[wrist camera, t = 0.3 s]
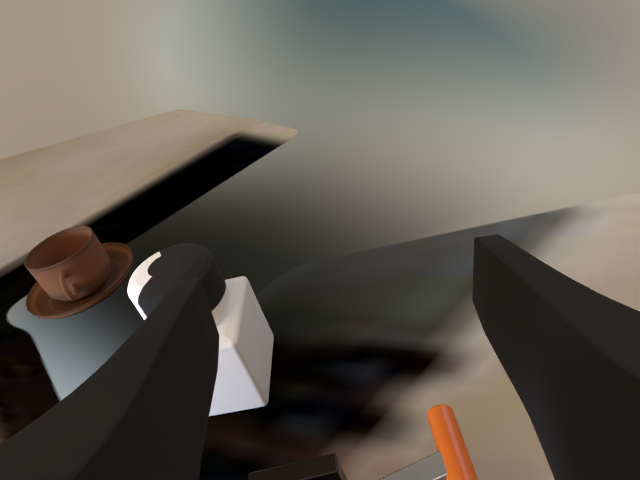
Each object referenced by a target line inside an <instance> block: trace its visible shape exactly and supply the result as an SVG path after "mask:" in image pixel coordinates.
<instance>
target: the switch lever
mask: <svg viewBox="0 0 640 480" xmlns="http://www.w3.org/2000/svg"><path fill="white" fill-rule="evenodd" d="M427 418H428V421H429V424H430V428H431V431H432V434H433V438H434V441H435V444H436V448H437V451H438V452H436V453H434V454H432V455H430V456H428V457H426V458H424V459H421V460H419V461H417V462H415V463H413V464H411V465H409V466H407V467H405V468H403V469H401V470H398V471H396V472H394V473H392V474H390V475H388V476H386V477H384V478H382V479H380V480H478V479H477V476H476V473H475V470H474V468H473V465H472V462H471V459H470V456H469V454H468V451H467V448H466V445H465V442H464V440H463V437H462V434H461V431H460V428H459V426H458V423H457V420H456V417H455V414H454V412H453V409H452V408H451V407H450V406H448V405H437V406H434V407H432V408H431V409H430V410H429V411H428V413H427Z"/></svg>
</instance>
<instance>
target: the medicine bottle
mask: <svg viewBox="0 0 640 480" xmlns="http://www.w3.org/2000/svg"><path fill="white" fill-rule="evenodd" d="M195 278H201V280H202V284H203V287H204V290H205V293H206V296H207V299H208V302H209V305H210V308H211V311H212V314H213V317H214V321H215V324H216V327H217V330H218V333H219V357H218V371H217V376H216V382H215V387H214V393H213V398H212V403H211V408H210V413H209V416H214V415H219V414H225V413H230V412H236V411H241V410H247V409H253V408H258V407H264V406H266V405H267V404H268V398H269V387H270V375H271V363H272V352H273V340H274V336H273V333H272V331H271V329H270V327H269V325H268V323H267V320H266V318H265V316H264V314H263V312H262V310H261V307H260V305H259V303H258V301H257V299H256V297H255V294H254V292H253V290H252V288H251V286H250V283H249V282H248V279H247V278H246V277H244V276H242V277H238V278H232V279H228V280H224V278H223V276H222V274H221V272H220V270H219V268H218V266H217V264H216V262H215V260H214V258H213V256H212V254H211V252H210V251H209V249H207V248H206V247H204V246H201V245H198V244H193V243H185V244H179V245H174V246H171V247H168V248H166V249H163V250H161V251H159V252H157V253H155V254H154V255H152V256H151V257H149V258H148V259H146V260H145V261H144V262H143V263H142V264H140V266H138V267H137V269H136V270H135V271H134V273H133V274H132V276H131V278H130V280H129V284H128V289H127V292H128V296H129V298H130V299H131V301H132V302H133V304H134V305H135V307H136V308H137V310H138V311H139V313H140V314H141V316H142V317H143V319H144V320H145V319H146V318H147V317H148V316H149V315H150V313H151V312H152V311H153V310H154V309H155V307H156V306H157V305H158V304H159V303H160V301H161V300H162V299H163V298H164V297H165V295H166V294H167V293H168V292H169V291H170V289H171V288H172V287H173V286H174V285H175V284H176V283H177V281H182V280H188V279H195Z"/></svg>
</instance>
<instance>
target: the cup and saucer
mask: <svg viewBox="0 0 640 480" xmlns="http://www.w3.org/2000/svg"><path fill="white" fill-rule="evenodd" d="M132 264H133V254H132V251H131V249H130V248H129V247H128V246H127V245H125V244H122V243H103V244H101V243H100V242H99V240H98V239H97V237H96V235H95V234H94V232H93V231H92V229H91V228H90V227H87V226H76V227H71V228H68V229H65V230H62V231H60V232H58V233H56V234H54V235H52V236H50V237H48V238H47V239H45V240H44V241H42V242H41V243H39V244H38V245H37V246H36V247H35V248H33V249H32V250H31V252H30V253H29V254H28V255H27V257H26V259H25V267H26V268H27V269H28V270H29V272H30V273H31V274H32V275H33V277H34V278H35V279H36V280H37V282H36V283H35V284H34V286H33V287H32V288H31V290H30V292H29V294H28V296H27V300H26V307H27V309H28V311H30V313H32V314H33V315H35V316H36V317H39V318H44V319H57V318H63V317H68V316H72V315H75V314H78V313H80V312H83V311H85V310H87V309H89V308H91V307H93V306H95V305H96V304H98V303H100V302H101V301H103V300H104V299H106V298H107V297H108V296H109V295H111V294H112V293H113V292H114V291H115V290H116V289H117V288H118V287H119V286H120V285H121V284H122V283H123V281H124V280H125V279H126V277H127V276H128V274H129V272H130V270H131V267H132Z"/></svg>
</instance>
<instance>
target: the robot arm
mask: <svg viewBox="0 0 640 480" xmlns="http://www.w3.org/2000/svg"><path fill="white" fill-rule="evenodd" d="M472 300H473V303H474V305H475V308H476V311H477V314H478V316H479V319H480V322H481V324H482V327H483V329H484V332H485V334H486V336H487V338H488V340H489V342H490V343H491V345H492V347H493V349H494V351H495V353H496V355H497V356H498V358H499V360H500V362H501V364H502V366H503V367H504V369H505V371H506V373H507V375H508V377H509V378H510V380H511V382H512V384H513V386H514V388H515V389H516V391H517V393H518V395H519V397H520V399H521V400H522V402H523V404H524V406H525V409H526V411H527V413H528V415H529V417H530V419H531V421H532V424H533V426H534V429H535V431H536V433H537V436H538V438H539V441H540V443H541V446H542V448H543V450H544V453H545V455H546V458H547V460H548V463H549V466H550V468H551V471H552V473H553V476H554V478H555V480H640V312H639V311H637V310H635V309H632V308H630V307H628V306H626V305H623V304H621V303H619V302H616V301H614V300H612V299H610V298H608V297H605V296H603V295H601V294H599V293H597V292H595V291H593V290H591V289H590V288H588V287H586V286H584V285H582V284H580V283H578V282H576V281H574V280H573V279H571V278H569V277H567V276H566V275H564V274H562V273H560V272H559V271H557V270H555V269H553V268H552V267H550V266H549V265H547V264H545V263H544V262H542V261H540V260H539V259H537V258H535V257H534V256H532V255H531V254H529V253H528V252H526V251H524V250H523V249H521V248H520V247H518V246H517V245H515V244H513V243H512V242H510V241H509V240H507V239H505V238H504V237H502V236H500V235H498V234H497V235H490V236H483V237H476V238H475V239H474V268H473V297H472ZM218 357H219V333H218V330H217V327H216V324H215V321H214V317H213V314H212V311H211V308H210V305H209V302H208V299H207V296H206V293H205V290H204V287H203V284H202V280H201V278H195V279H188V280H182V281H177V283H176V284H175V285H174V286H173V287H172V288H171V289H170V291H169V292H168V293H167V294H166V295H165V297H164V298H163V299H162V300H161V301H160V303H159V304H158V305H157V306H156V307H155V309H154V310H153V311H152V312H151V313H150V315H149V316H148V317H147V318H146V319H145V320H144V322H143V323H142V324H141V325H140V326H139V327H138V329H137V330H136V331H135V332H134V333H133V334H132V335H131V336H130V337H129V338H128V339H127V341H126V342H125V343H124V344H123V345H122V346H121V347H120V348H119V349H118V350H117V351H116V352H115V353H114V354H113V355H112V356H111V357H110V358H109V359H108V361H106V362H105V363H104V364H103V365H102V366H101V367H100V368H99V369H98V370H97V371H96V372H95V373H94V374H92V375H91V376H90V377H89V378H88V379H87V380H86V381H85V382H83V383H82V384H81V385H80V386H79V387H78V388H77V389H75V390H74V391H73V392H72V393H71V394H69V395H68V396H67V397H65V398H64V399H63V400H62V401H60V402H59V403H58V404H56V405H55V406H54V407H52V408H51V409H50V410H49V411H47V412H46V413H45V414H43V415H42V416H41V417H40V418H38V419H37V420H35V421H34V422H33V423H31V424H30V425H28V426H27V427H25V428H24V429H23V430H21V431H20V432H18V433H17V434H15V435H14V436H12V437H11V438H9V439H8V440H6V441H5V442H3V443H2V444H0V480H199V475H200V464H201V457H202V450H203V444H204V439H205V434H206V429H207V424H208V418H209V413H210V408H211V403H212V398H213V393H214V387H215V382H216V376H217V371H218Z"/></svg>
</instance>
